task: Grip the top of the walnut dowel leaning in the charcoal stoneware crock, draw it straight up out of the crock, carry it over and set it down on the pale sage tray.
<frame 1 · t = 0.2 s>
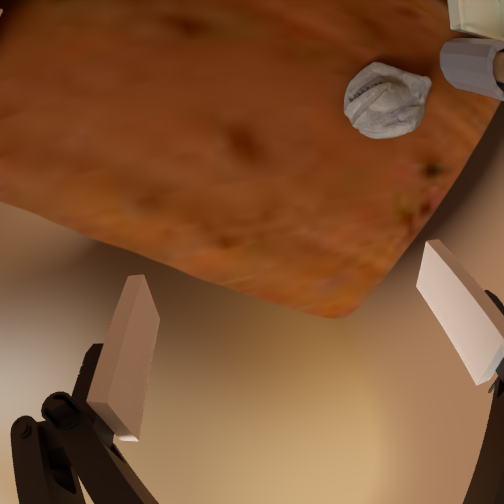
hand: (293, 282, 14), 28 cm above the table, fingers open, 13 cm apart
stoneware crock: (460, 63, 32), on the table
fossil: (376, 96, 36), on the table
walnut dowel: (459, 65, 33), resting on stoneware crock, tilted 5°
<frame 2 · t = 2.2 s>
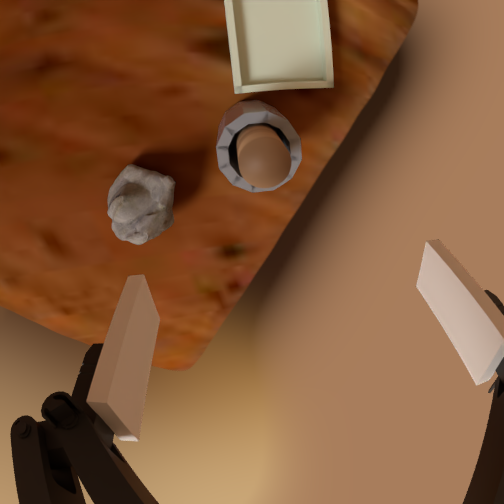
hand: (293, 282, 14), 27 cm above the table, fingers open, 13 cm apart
stoneware crock: (251, 131, 37), on the table
fossil: (148, 191, 40), on the table
walnut dowel: (251, 133, 37), resting on stoneware crock, tilted 6°
sage tray: (276, 31, 30), on the table
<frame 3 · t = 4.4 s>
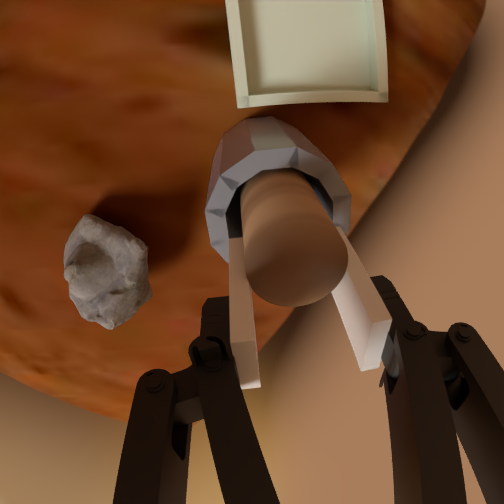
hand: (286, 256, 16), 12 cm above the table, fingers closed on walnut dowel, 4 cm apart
stoneware crock: (262, 163, 25), on the table
fossil: (118, 246, 29), on the table
walnut dowel: (262, 166, 26), resting on stoneware crock, tilted 6°, touching gripper
sage tray: (302, 13, 19), on the table
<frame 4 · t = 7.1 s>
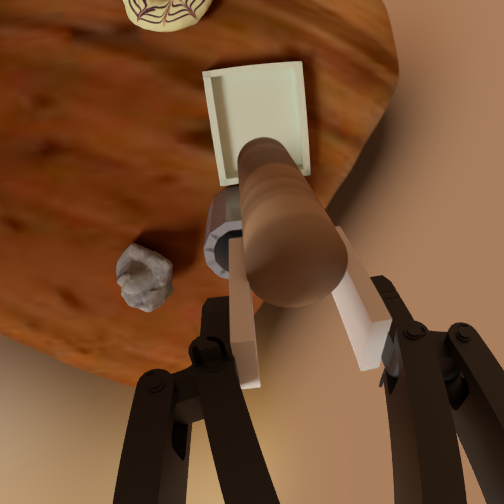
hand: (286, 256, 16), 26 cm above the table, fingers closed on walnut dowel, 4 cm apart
stoneware crock: (238, 212, 44), on the table
fossil: (150, 261, 47), on the table
walnut dowel: (262, 167, 26), point 14 cm above the table, tilted 6°, touching gripper
sage tray: (257, 120, 37), on the table
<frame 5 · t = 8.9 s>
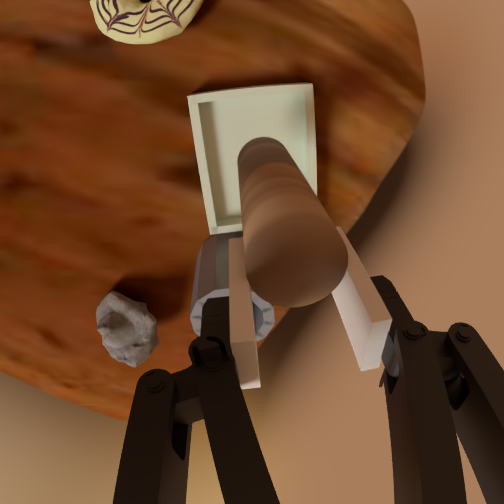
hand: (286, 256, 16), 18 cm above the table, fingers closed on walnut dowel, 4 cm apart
stoneware crock: (231, 259, 38), on the table
fossil: (133, 307, 41), on the table
walnut dowel: (263, 167, 26), point 6 cm above the table, tilted 6°, touching gripper
sage tray: (255, 154, 31), on the table
when the fingers open (13 cm above the table, at t = 10.2 s): walnut dowel stays where it is, resting on sage tray.
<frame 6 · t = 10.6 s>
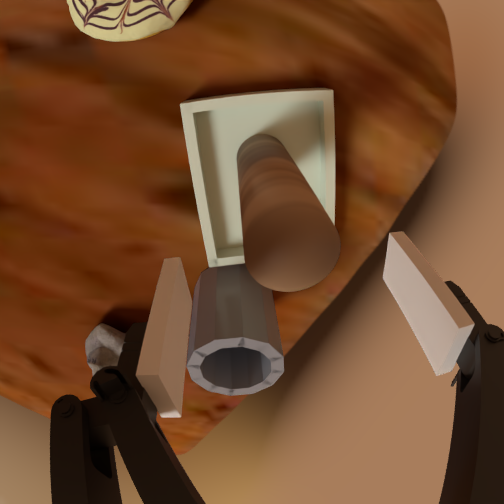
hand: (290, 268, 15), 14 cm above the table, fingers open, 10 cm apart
stoneware crock: (233, 291, 33), on the table
fossil: (126, 338, 37), on the table
walnut dowel: (261, 164, 27), resting on sage tray, tilted 6°
sage tray: (262, 173, 27), on the table
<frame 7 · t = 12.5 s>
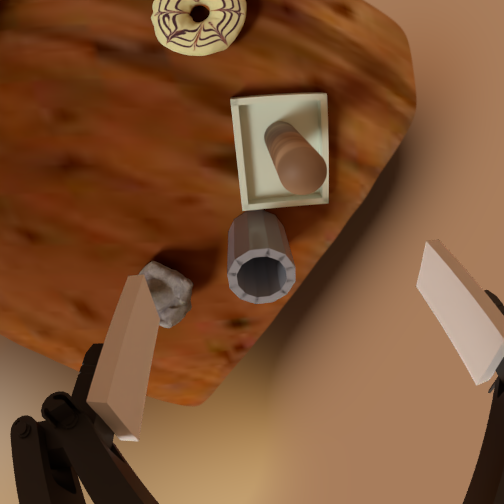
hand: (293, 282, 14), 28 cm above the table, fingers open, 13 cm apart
decorated donut: (200, 16, 30), on the table
stoneware crock: (256, 235, 46), on the table
fossil: (168, 278, 49), on the table
walnut dowel: (279, 141, 39), resting on sage tray, tilted 6°
sage tray: (280, 148, 39), on the table
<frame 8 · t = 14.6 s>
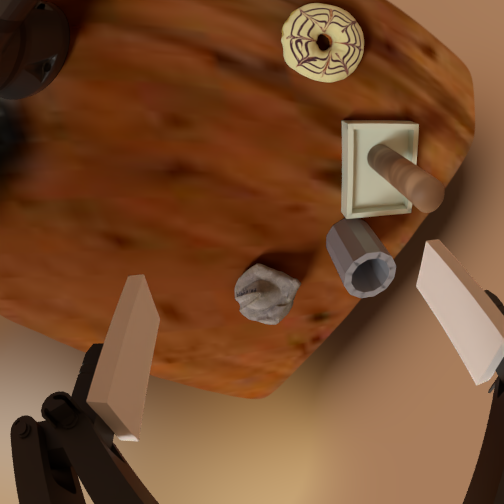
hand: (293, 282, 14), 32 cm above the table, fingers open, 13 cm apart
decorated donut: (318, 43, 35), on the table
stoneware crock: (348, 238, 51), on the table
fossil: (265, 278, 54), on the table
walnut dowel: (375, 160, 44), resting on sage tray, tilted 6°
sage tray: (376, 166, 44), on the table
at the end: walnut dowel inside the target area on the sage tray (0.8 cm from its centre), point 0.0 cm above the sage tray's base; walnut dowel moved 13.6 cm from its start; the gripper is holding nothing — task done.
